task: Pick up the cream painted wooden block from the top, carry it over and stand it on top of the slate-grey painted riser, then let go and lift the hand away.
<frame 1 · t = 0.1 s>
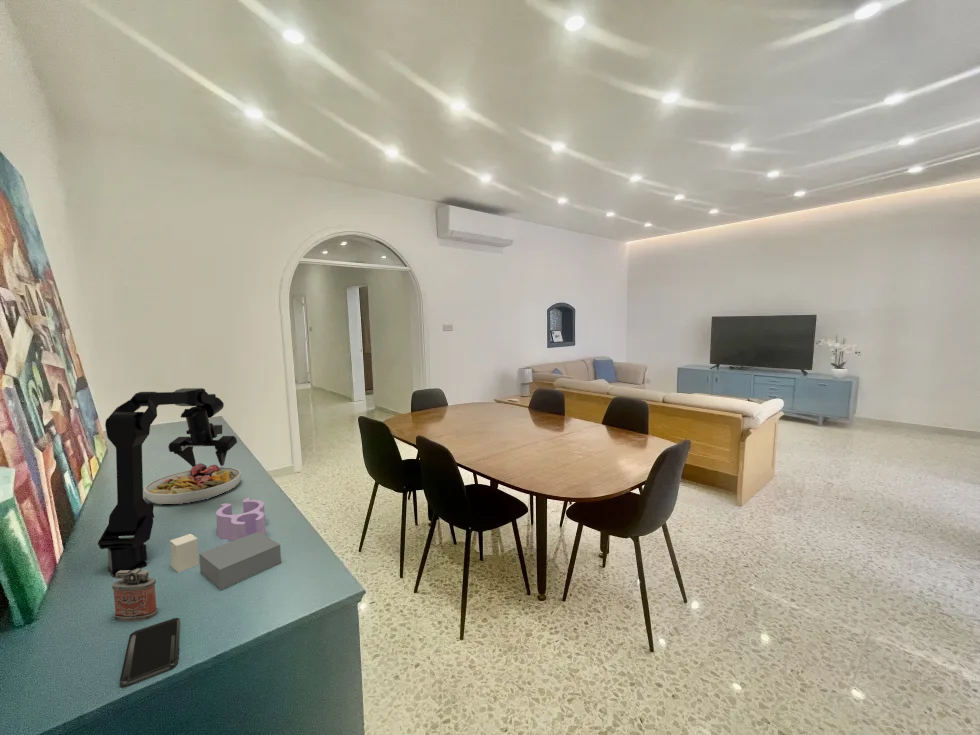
hand: (208, 465, 136), 15 cm above the sideboard, tool pointing down, fingers open, 9 cm apart
phone: (153, 653, 75), on the sideboard
riser: (241, 567, 102), on the sideboard
lighter: (136, 616, 85), on the sideboard
bowl: (195, 492, 153), on the sideboard
block: (185, 565, 103), on the sideboard
clip: (243, 533, 121), on the sideboard
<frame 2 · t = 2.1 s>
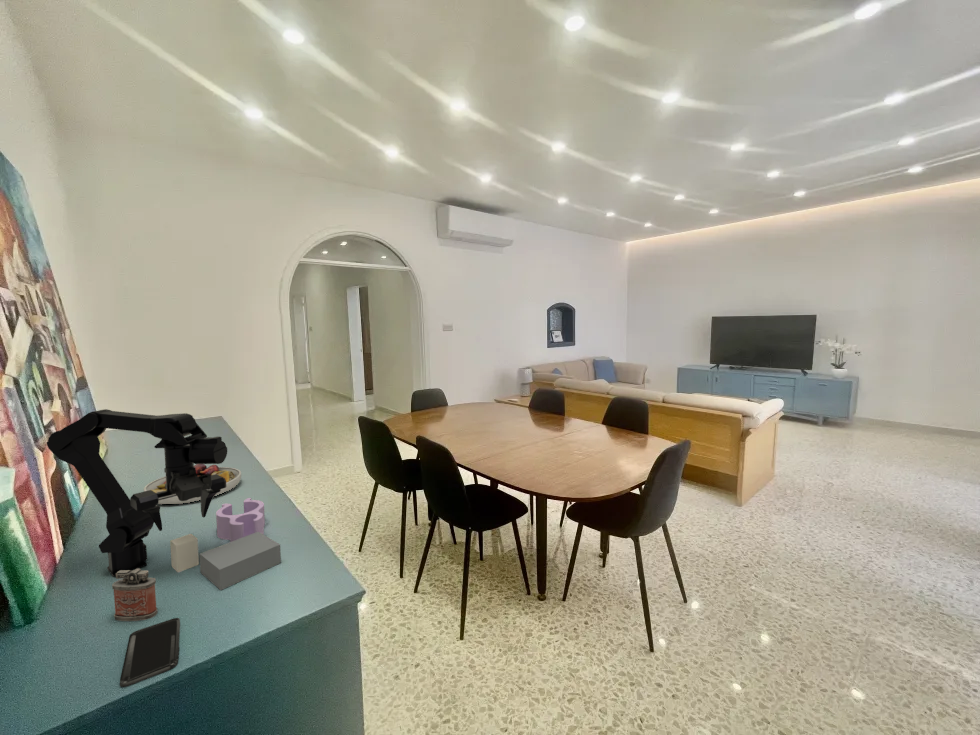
hand: (182, 523, 102), 11 cm above the sideboard, tool pointing down, fingers open, 9 cm apart
nothing on the sideboard moved.
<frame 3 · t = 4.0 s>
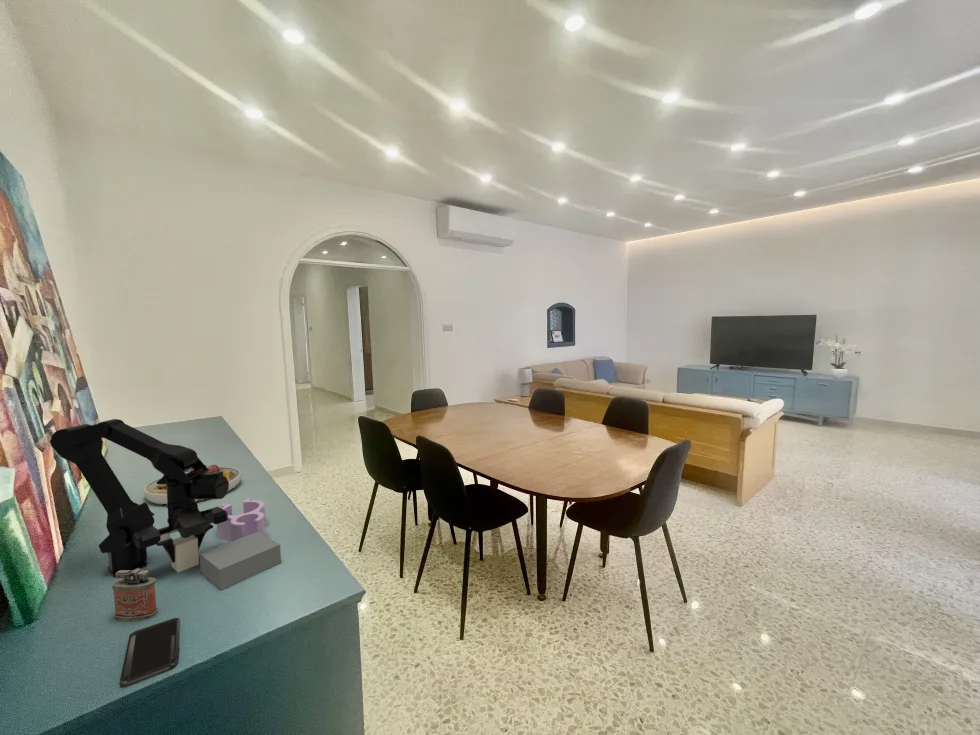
hand: (184, 557, 103), 2 cm above the sideboard, tool pointing down, fingers closed on block, 4 cm apart
block: (185, 565, 103), on the sideboard, touching gripper
everything else where it was.
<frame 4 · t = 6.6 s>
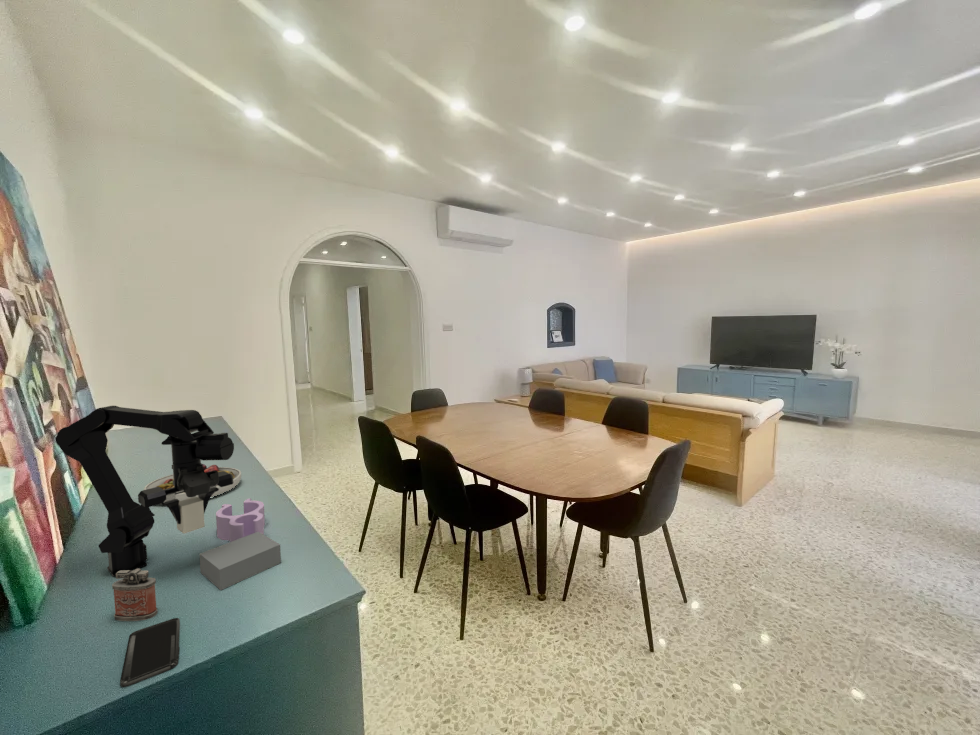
hand: (190, 520, 102), 12 cm above the sideboard, tool pointing down, fingers closed on block, 4 cm apart
block: (191, 527, 102), point 10 cm above the sideboard, touching gripper
everything else where it was.
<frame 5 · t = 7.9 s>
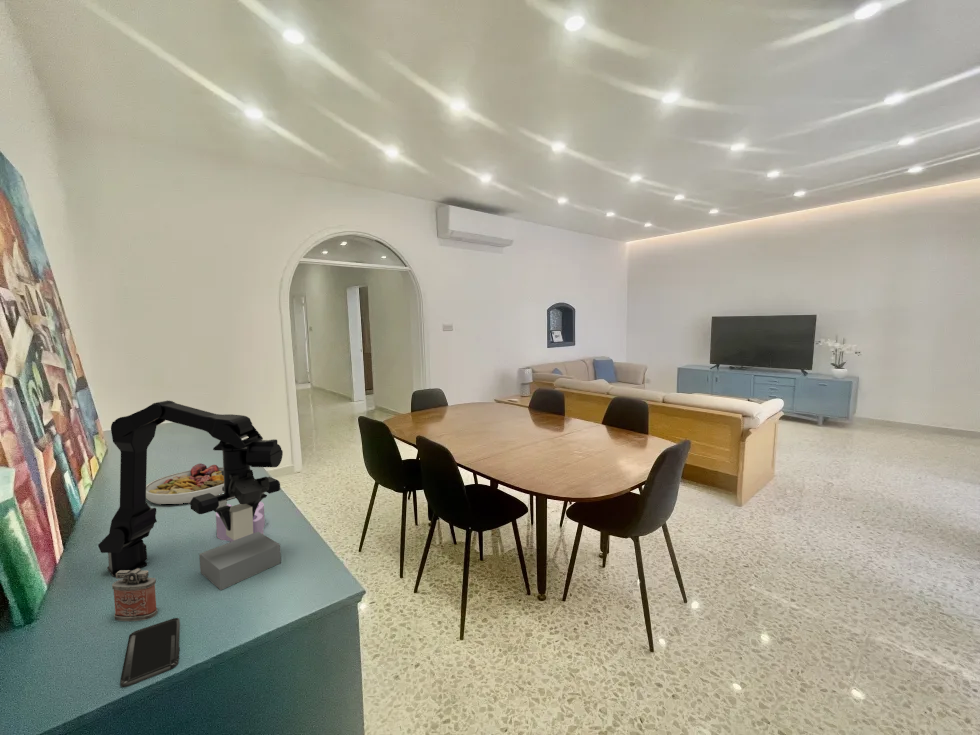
hand: (239, 526, 101), 11 cm above the sideboard, tool pointing down, fingers closed on block, 4 cm apart
block: (239, 534, 102), point 9 cm above the sideboard, touching gripper
everything else where it was.
when the fingers open (8 cm above the sideboard, at t = 9.1 s): block drops 1 cm, resting on riser.
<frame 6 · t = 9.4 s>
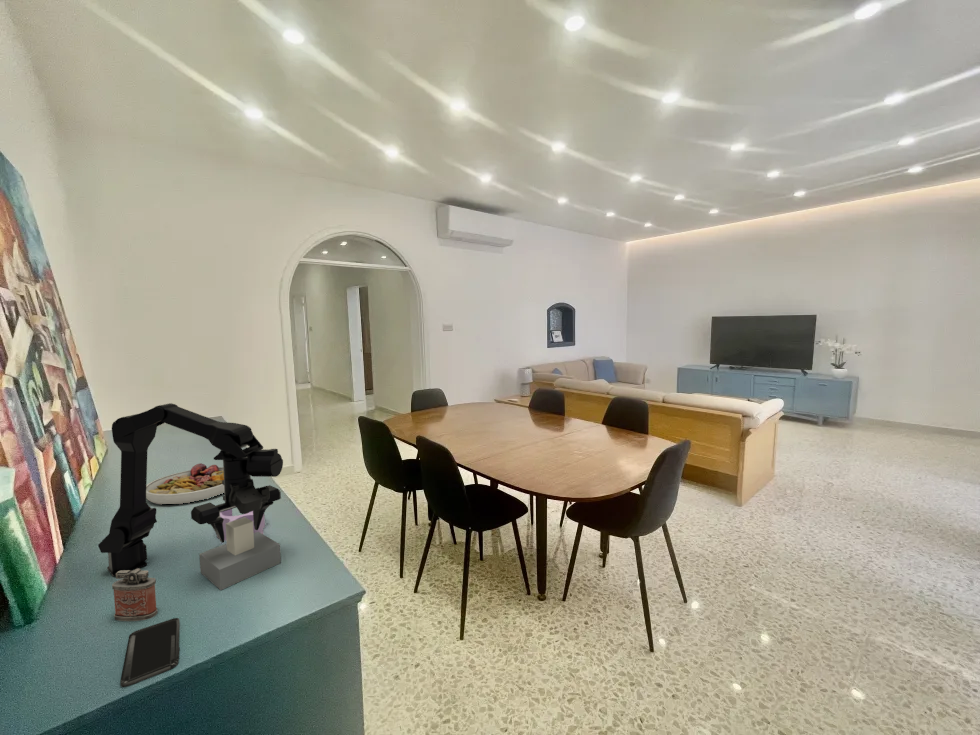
hand: (240, 535, 102), 8 cm above the sideboard, tool pointing down, fingers open, 8 cm apart
block: (240, 548, 102), point 5 cm above the sideboard, touching riser
everything else where it was.
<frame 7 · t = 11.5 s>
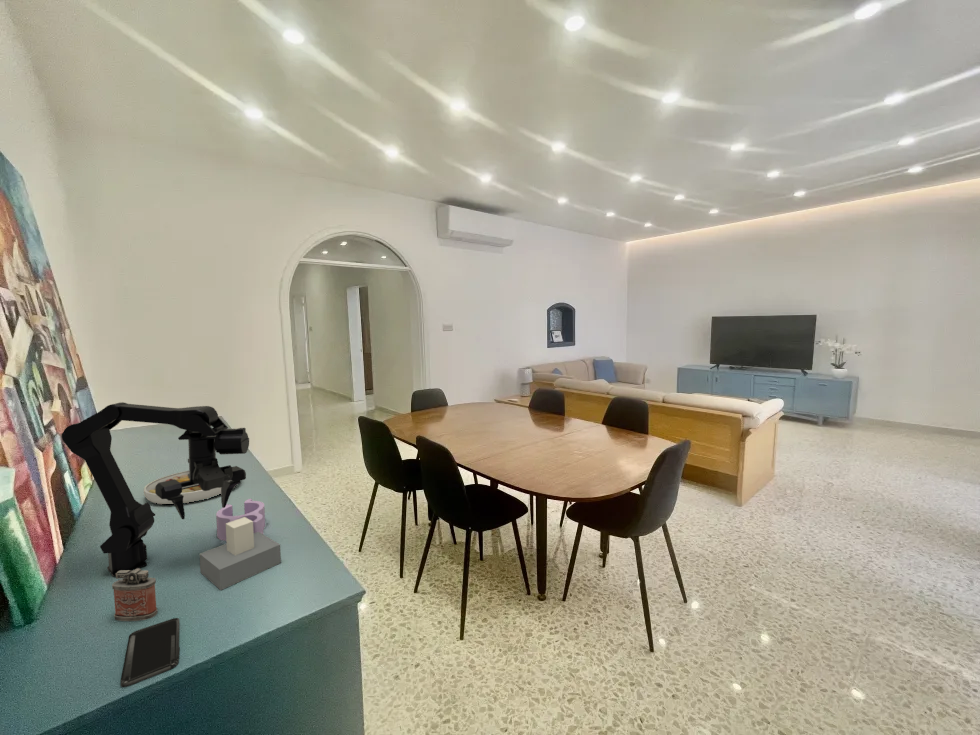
hand: (204, 512, 105), 13 cm above the sideboard, tool pointing down, fingers open, 9 cm apart
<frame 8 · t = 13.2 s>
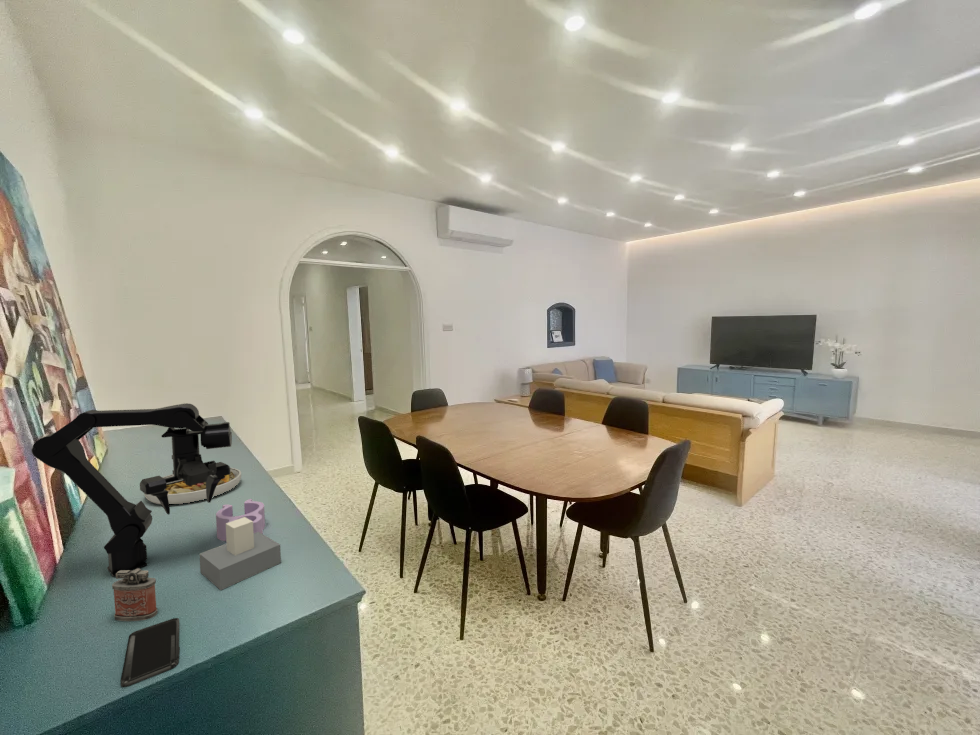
hand: (189, 507, 108), 13 cm above the sideboard, tool pointing down, fingers open, 9 cm apart
at the end: block inside the target area on the riser (0.0 cm from its centre), point 5.0 cm above the riser's base; block tilted 0°; the gripper is holding nothing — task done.
